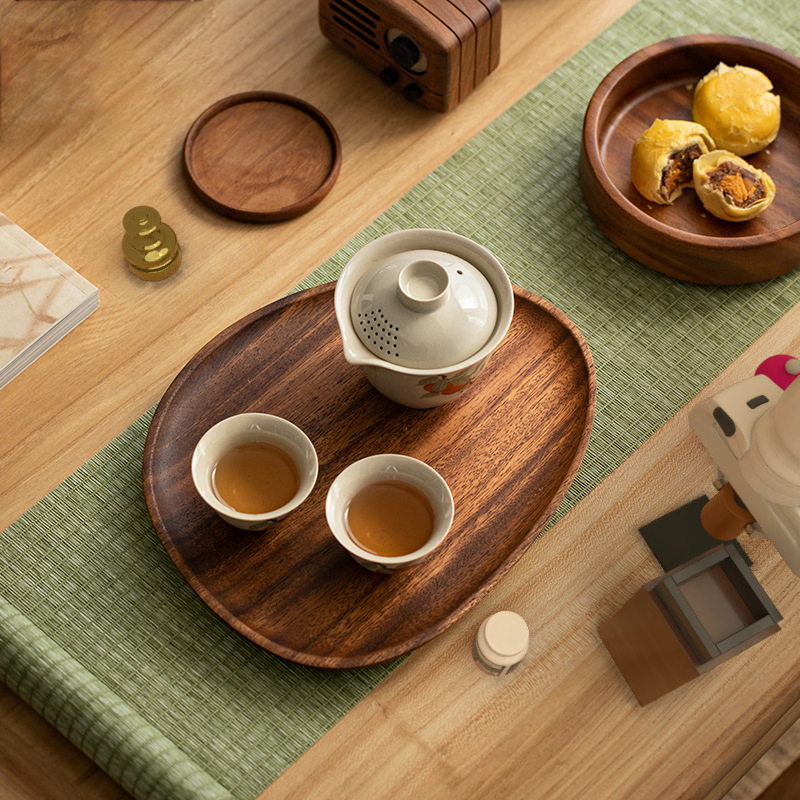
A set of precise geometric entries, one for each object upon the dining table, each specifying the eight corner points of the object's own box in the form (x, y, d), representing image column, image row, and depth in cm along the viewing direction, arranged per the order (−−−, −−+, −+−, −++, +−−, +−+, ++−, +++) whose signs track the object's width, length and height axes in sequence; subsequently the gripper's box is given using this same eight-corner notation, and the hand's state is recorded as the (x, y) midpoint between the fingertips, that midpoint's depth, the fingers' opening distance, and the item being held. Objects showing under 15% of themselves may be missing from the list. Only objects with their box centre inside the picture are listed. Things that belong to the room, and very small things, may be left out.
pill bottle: (512, 621, 108) (525, 600, 99) (527, 670, 105) (541, 652, 96) (465, 633, 107) (474, 612, 98) (478, 682, 104) (489, 665, 95)
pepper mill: (770, 435, 120) (842, 361, 102) (741, 474, 117) (809, 404, 99) (723, 402, 122) (785, 322, 104) (693, 439, 119) (752, 364, 101)
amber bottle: (726, 493, 105) (757, 462, 97) (751, 529, 103) (785, 501, 95) (692, 510, 104) (720, 481, 96) (717, 547, 102) (748, 520, 94)
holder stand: (664, 594, 110) (733, 533, 89) (711, 668, 106) (795, 622, 85) (596, 630, 107) (651, 576, 87) (642, 707, 104) (710, 669, 83)
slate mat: (704, 495, 116) (705, 494, 115) (752, 565, 112) (753, 563, 111) (637, 529, 113) (639, 527, 113) (684, 601, 109) (686, 600, 109)
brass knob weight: (159, 229, 131) (145, 183, 122) (193, 261, 128) (180, 216, 120) (117, 259, 128) (99, 213, 119) (150, 291, 126) (134, 248, 117)
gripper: (887, 537, 84) (818, 579, 96) (752, 360, 92) (705, 419, 104) (833, 567, 83) (770, 605, 95) (701, 384, 90) (659, 442, 103)
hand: (735, 507), depth 100 cm, fingers closed on amber bottle, 5 cm apart
